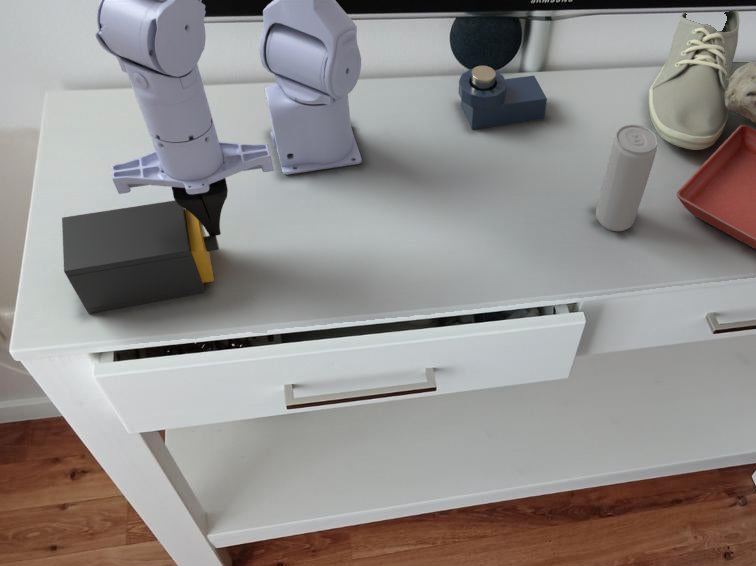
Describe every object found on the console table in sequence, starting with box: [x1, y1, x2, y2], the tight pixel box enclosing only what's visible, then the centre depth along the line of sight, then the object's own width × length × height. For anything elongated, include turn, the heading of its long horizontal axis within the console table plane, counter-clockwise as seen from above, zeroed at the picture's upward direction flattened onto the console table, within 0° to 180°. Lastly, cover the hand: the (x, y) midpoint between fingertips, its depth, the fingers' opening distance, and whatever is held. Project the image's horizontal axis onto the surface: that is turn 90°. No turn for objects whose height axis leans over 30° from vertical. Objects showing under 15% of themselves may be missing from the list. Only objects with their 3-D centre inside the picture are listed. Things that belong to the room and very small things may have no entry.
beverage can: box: [595, 124, 659, 232], centre depth 88 cm, size 5×5×12 cm
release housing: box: [458, 68, 548, 130], centre depth 100 cm, size 11×6×5 cm, turn 109°
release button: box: [471, 65, 496, 91], centre depth 97 cm, size 3×3×2 cm
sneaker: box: [648, 10, 740, 151], centre depth 105 cm, size 11×29×8 cm, turn 165°
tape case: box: [61, 199, 206, 315], centre depth 79 cm, size 11×7×6 cm, turn 109°
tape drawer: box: [185, 209, 220, 284], centre depth 80 cm, size 12×6×5 cm, turn 109°
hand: (214, 229), depth 82 cm, fingers closed, pressing on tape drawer
